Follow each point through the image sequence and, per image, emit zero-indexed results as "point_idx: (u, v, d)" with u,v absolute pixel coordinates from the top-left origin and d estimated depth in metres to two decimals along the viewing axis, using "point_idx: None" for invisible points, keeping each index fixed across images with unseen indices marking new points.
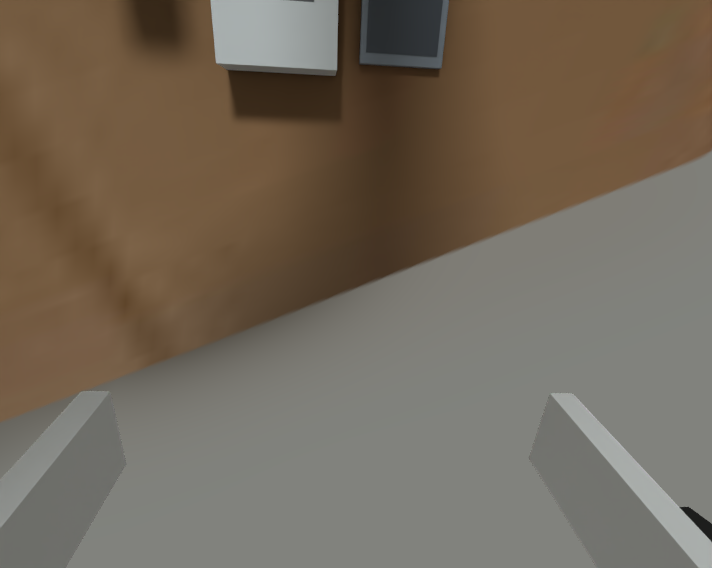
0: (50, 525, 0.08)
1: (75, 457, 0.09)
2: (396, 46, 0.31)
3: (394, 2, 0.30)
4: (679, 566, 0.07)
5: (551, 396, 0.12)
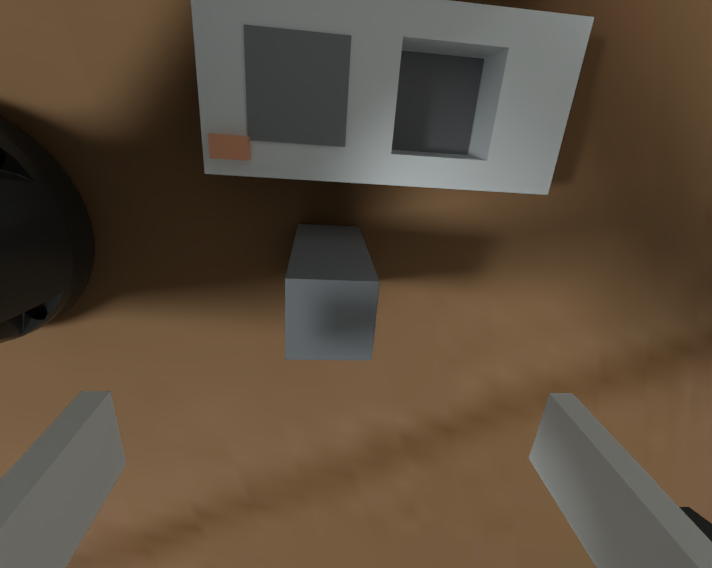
0: (50, 525, 0.08)
1: (75, 457, 0.09)
2: None
3: None
4: (679, 566, 0.07)
5: (551, 396, 0.12)
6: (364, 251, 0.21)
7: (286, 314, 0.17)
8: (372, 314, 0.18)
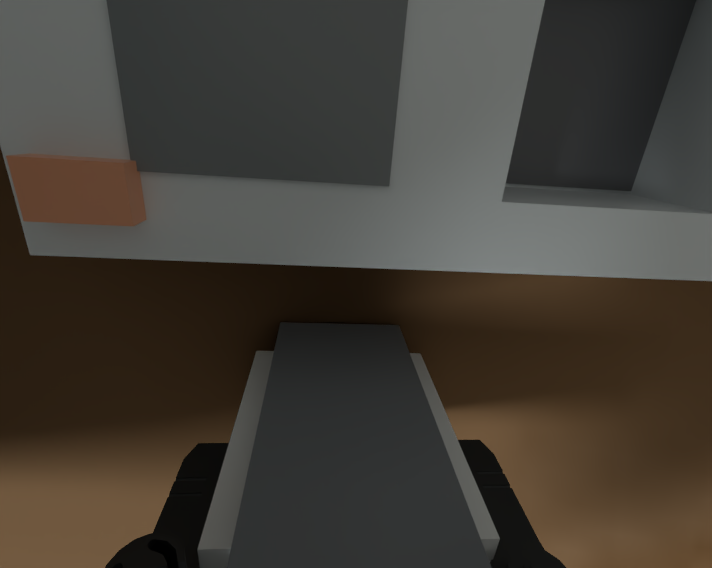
0: None
1: None
2: None
3: None
4: None
5: None
6: (436, 447, 0.08)
7: None
8: None
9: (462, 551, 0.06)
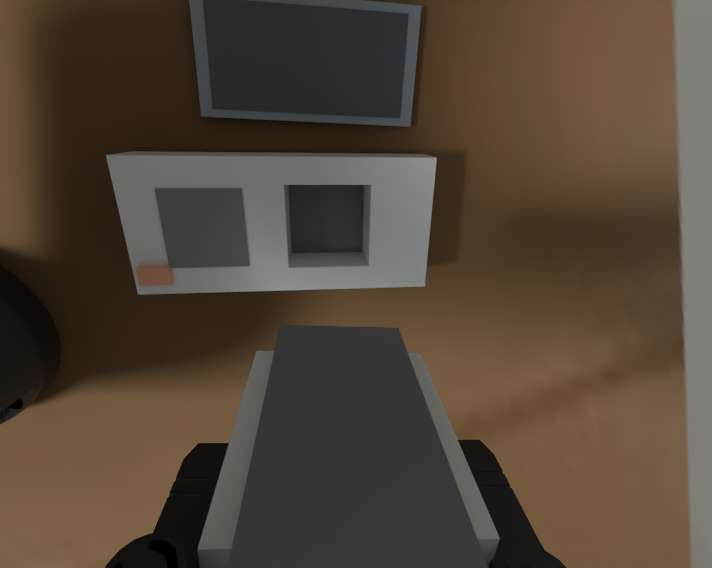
0: None
1: None
2: (394, 76, 0.25)
3: (349, 80, 0.25)
4: None
5: None
6: (435, 452, 0.08)
7: None
8: None
9: (461, 556, 0.06)
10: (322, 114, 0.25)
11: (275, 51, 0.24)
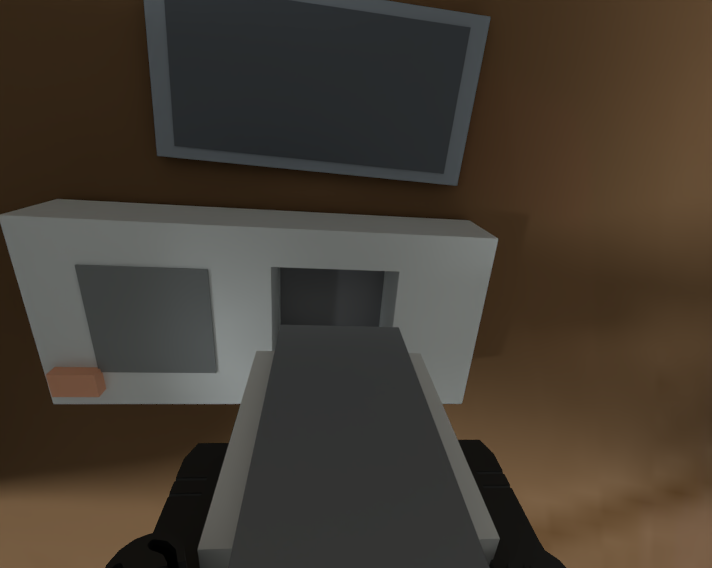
0: None
1: None
2: (442, 115, 0.17)
3: (376, 117, 0.17)
4: None
5: None
6: (435, 451, 0.08)
7: None
8: None
9: (461, 555, 0.06)
10: (333, 161, 0.18)
11: (269, 70, 0.16)
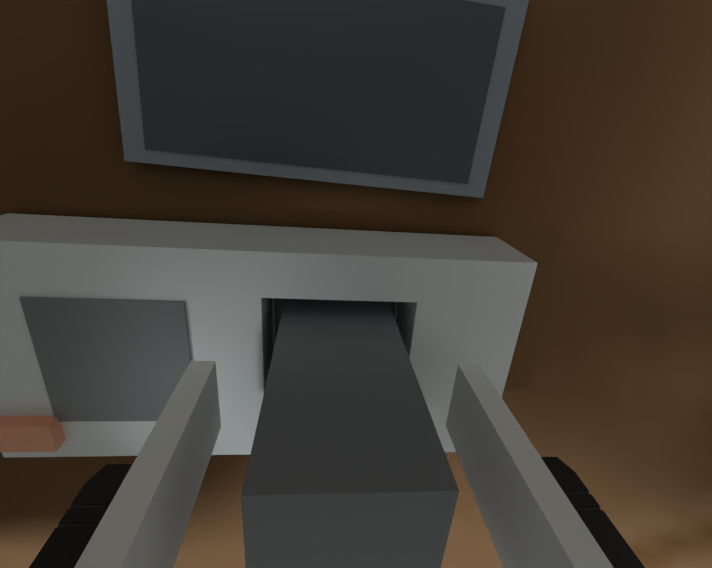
0: (189, 465, 0.10)
1: (200, 412, 0.11)
2: (468, 115, 0.14)
3: (389, 117, 0.14)
4: (524, 499, 0.09)
5: (458, 366, 0.13)
6: (404, 363, 0.11)
7: (248, 556, 0.08)
8: (437, 546, 0.08)
9: (414, 413, 0.09)
10: (336, 169, 0.15)
11: (260, 58, 0.13)
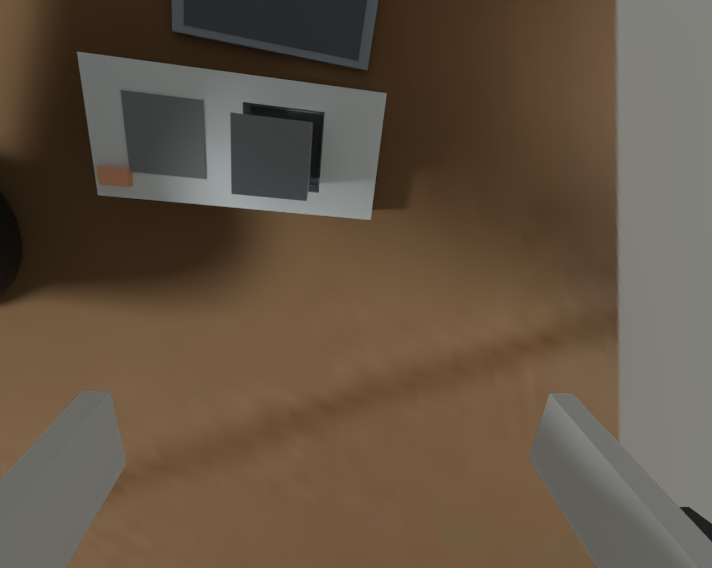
0: (50, 525, 0.08)
1: (75, 457, 0.09)
2: (356, 19, 0.27)
3: (314, 16, 0.27)
4: (679, 566, 0.07)
5: (550, 396, 0.12)
6: None
7: (232, 148, 0.20)
8: (306, 154, 0.21)
9: None
10: (286, 45, 0.27)
11: None
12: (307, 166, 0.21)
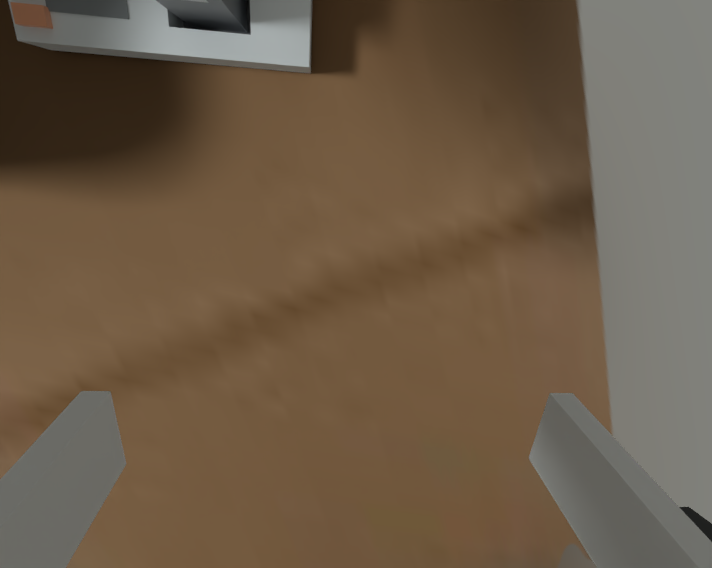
0: (50, 525, 0.08)
1: (75, 457, 0.09)
2: None
3: None
4: (679, 566, 0.07)
5: (550, 396, 0.12)
6: None
7: None
8: None
9: None
10: None
11: None
12: None
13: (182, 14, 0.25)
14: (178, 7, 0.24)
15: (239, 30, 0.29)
